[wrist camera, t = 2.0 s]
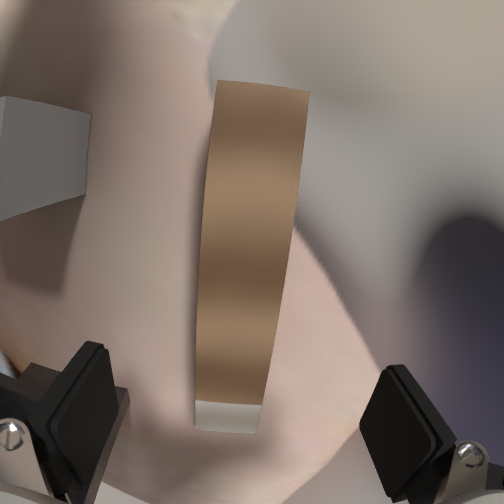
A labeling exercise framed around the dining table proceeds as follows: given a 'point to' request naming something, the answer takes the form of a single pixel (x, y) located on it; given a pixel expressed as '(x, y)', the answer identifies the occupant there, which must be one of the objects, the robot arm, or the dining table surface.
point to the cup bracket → (26, 398)
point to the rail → (245, 247)
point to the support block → (40, 154)
